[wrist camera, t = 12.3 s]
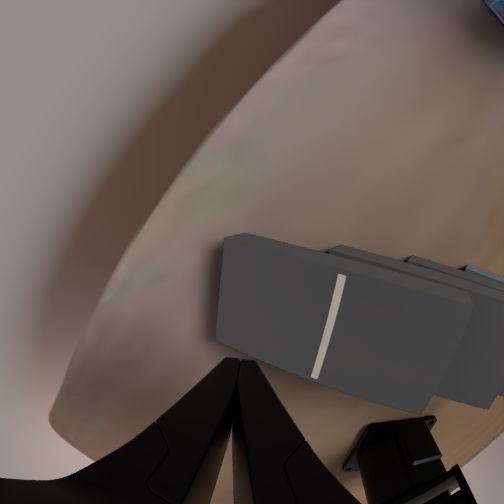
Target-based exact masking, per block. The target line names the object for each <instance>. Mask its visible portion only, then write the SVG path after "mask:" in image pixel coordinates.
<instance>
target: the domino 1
mask: <svg viewBox="0 0 504 504" xmlns="http://www.w3.org/2000/svg"><path fill="white" fill-rule="evenodd" d="M473 308H474V304H473V302H472V300H471V299H470V297H469V295H468V293H467V292H466V291H463V290H460V289H456V288H453V287H449V286H445V285H442V284H438V283H435V282H431V281H428V280H424V279H420V278H417V277H413V276H410V275H406V274H402V273H399V272H395V271H391V270H388V269H384V268H380V267H376V266H373V265H369V264H365V263H361V262H358V261H354V260H350V259H346V258H342V257H339V256H335V255H331V254H327V253H323V252H319V251H315V250H312V249H308V248H304V247H300V246H296V245H292V244H288V243H284V242H280V241H276V240H272V239H268V238H264V237H260V236H256V235H252V234H248V233H242V234H237V235H233V236H229V237H224V247H223V257H222V268H221V279H220V290H219V302H218V314H217V327H216V340H217V341H219V342H221V343H223V344H225V345H228V346H230V347H232V348H234V349H236V350H238V351H241V352H243V353H245V354H247V355H249V356H252V357H254V358H256V359H259V360H261V361H263V362H266V363H268V364H270V365H273V366H275V367H277V368H280V369H282V370H285V371H287V372H290V373H292V374H295V375H297V376H300V377H302V378H305V379H308V380H310V381H313V382H316V383H318V384H321V385H324V386H327V387H329V388H332V389H335V390H338V391H341V392H344V393H347V394H350V395H353V396H356V397H359V398H362V399H365V400H369V401H372V402H375V403H378V404H382V405H385V406H389V407H392V408H396V409H399V410H403V411H407V412H411V413H415V414H419V415H421V414H422V412H423V410H424V409H425V407H426V406H427V404H428V402H429V401H430V399H431V397H432V396H433V394H434V392H435V390H436V389H437V387H438V385H439V383H440V381H441V380H442V378H443V376H444V374H445V372H446V370H447V368H448V366H449V364H450V362H451V360H452V358H453V356H454V354H455V352H456V350H457V347H458V345H459V343H460V341H461V338H462V336H463V334H464V331H465V329H466V327H467V324H468V322H469V319H470V316H471V314H472V311H473Z"/></svg>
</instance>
